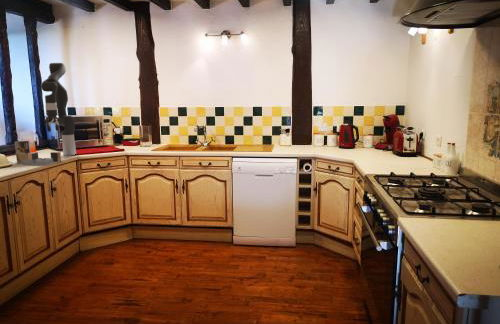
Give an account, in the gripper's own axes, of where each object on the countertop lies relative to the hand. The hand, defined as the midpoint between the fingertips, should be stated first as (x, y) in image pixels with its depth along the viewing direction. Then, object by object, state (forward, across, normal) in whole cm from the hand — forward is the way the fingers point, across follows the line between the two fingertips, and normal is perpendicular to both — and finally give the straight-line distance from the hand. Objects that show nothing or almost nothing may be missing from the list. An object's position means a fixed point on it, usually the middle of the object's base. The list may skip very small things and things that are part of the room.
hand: (53, 131), depth 278 cm
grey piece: (+23, +12, -4) cm, 26 cm away
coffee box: (+23, +10, -19) cm, 32 cm away
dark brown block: (+23, 0, 0) cm, 23 cm away
